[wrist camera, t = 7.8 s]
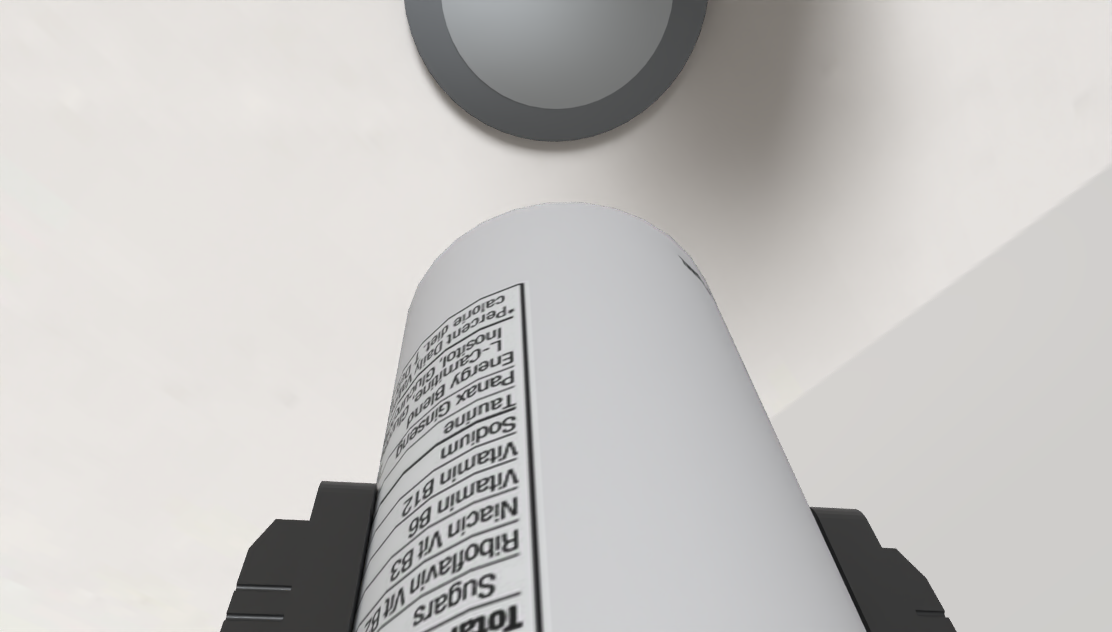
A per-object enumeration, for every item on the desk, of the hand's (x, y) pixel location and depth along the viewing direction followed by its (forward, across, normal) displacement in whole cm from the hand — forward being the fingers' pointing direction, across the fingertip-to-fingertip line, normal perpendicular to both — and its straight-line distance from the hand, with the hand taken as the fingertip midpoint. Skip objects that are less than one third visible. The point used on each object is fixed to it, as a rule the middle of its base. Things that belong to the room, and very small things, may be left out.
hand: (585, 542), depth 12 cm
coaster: (+21, 0, -4) cm, 21 cm away
